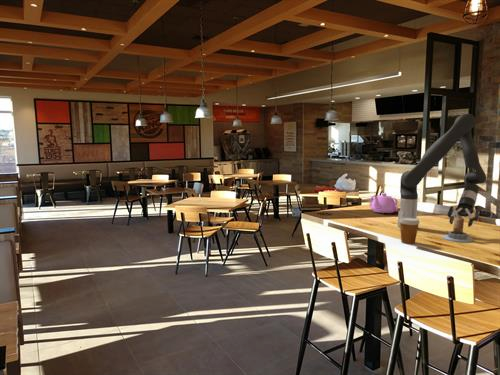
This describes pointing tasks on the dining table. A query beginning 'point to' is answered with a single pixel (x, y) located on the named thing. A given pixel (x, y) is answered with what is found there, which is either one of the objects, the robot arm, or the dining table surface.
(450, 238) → the ring socket
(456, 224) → the walnut plug
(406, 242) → the disposable coffee cup
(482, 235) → the dining table surface
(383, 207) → the teapot
